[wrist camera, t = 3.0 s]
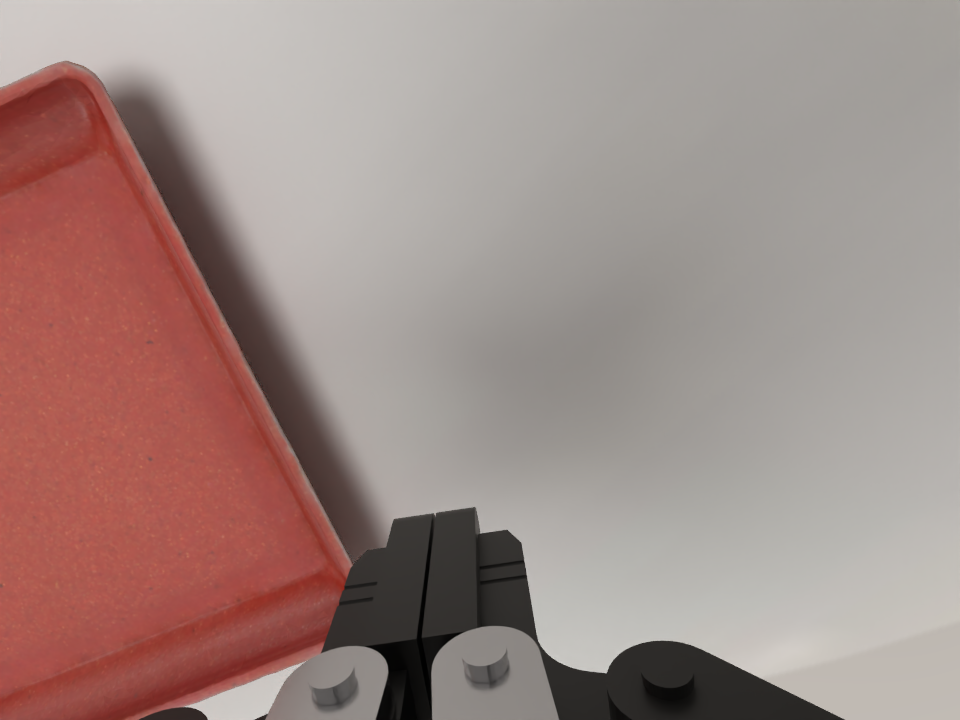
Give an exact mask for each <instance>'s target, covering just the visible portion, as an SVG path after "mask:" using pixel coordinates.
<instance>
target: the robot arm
mask: <svg viewBox="0 0 960 720" xmlns="http://www.w3.org/2000/svg"><path fill="white" fill-rule="evenodd" d="M139 720H208V719H207V717H206V716H205V715H204V714H203V713H202V712H201V711H199V710H197V709H193V708H188V707H178V708H170V709H166V710H161V711H158V712H155V713H152V714H150V715H148V716H145V717H143V718H141V719H139ZM255 720H844V719H842V718H840V717H838V716H836V715H834V714H832V713H830V712H828V711H826V710H824V709H822V708H820V707H818V706H815V705H814V704H812V703H810V702H807V701H805V700H803V699H801V698H799V697H797V696H795V695H793V694H791V693H789V692H787V691H785V690H783V689H781V688H779V687H777V686H775V685H773V684H771V683H769V682H767V681H765V680H763V679H761V678H758V677H756V676H754V675H752V674H750V673H748V672H746V671H744V670H742V669H740V668H738V667H736V666H734V665H732V664H730V663H728V662H726V661H724V660H722V659H720V658H718V657H716V656H714V655H712V654H710V653H707V652H705V651H703V650H701V649H699V648H696V647H694V646H691V645H688V644H684V643H679V642H674V641H651V642H646V643H641V644H638V645H635V646H633V647H631V648H629V649H626V650H625V651H623V652H622V653H621V654H619V655H618V656H617V657H616V658H615V659H614V660H613V662H612V663H611V665H610V666H609V669H608V672H607V674H606V673H597V672H588V671H582V670H577V669H574V668H570V667H568V666H565V665H563V664H561V663H559V662H557V661H556V660H554V659H553V658H551V657H550V656H549V655H548V654H547V653H546V652H545V651H544V650H543V649H542V647H541V646H540V644H539V642H538V639H537V635H536V629H535V623H534V617H533V611H532V605H531V599H530V593H529V587H528V581H527V575H526V568H525V563H524V556H523V550H522V544H521V542H520V541H519V540H518V539H517V538H515V537H514V536H513V535H512V534H511V533H510V532H509V531H508V530H503V531H496V532H489V533H482V534H480V528H479V522H478V516H477V511H476V508H475V507H473V508H466V509H459V510H452V511H445V512H439V513H436V517H435V515H434V513H433V514H426V515H419V516H412V517H405V518H398V519H394V520H393V524H392V527H391V531H390V535H389V539H388V543H387V547H386V548H380V549H373V550H367V551H366V552H365V553H364V554H363V556H362V557H361V558H360V559H359V560H358V561H357V562H356V563H355V564H354V565H353V566H352V567H351V568H350V571H349V574H348V577H347V580H346V582H345V585H344V590H343V591H342V594H341V597H340V600H339V606H337V608H336V611H335V614H334V617H333V620H332V623H331V626H330V628H329V631H328V634H327V637H326V640H325V643H324V646H323V649H322V651H321V654H319V655H317V656H315V657H313V658H311V659H310V660H308V661H306V662H305V663H303V664H302V665H301V666H300V667H298V668H297V669H296V670H295V671H294V672H293V673H292V674H291V675H290V676H289V677H288V678H287V680H286V681H285V682H284V684H283V686H282V687H281V689H280V691H279V693H278V695H277V697H276V699H275V701H274V703H273V705H272V707H271V709H270V711H269V713H268V714H266V715H264V716H262V717H260V718H257V719H255Z"/></svg>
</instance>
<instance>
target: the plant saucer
mask: <svg viewBox="0 0 960 720" xmlns="http://www.w3.org/2000/svg"><path fill="white" fill-rule="evenodd" d="M352 566H353V563H352V561H351V559H350V557H349V555H348V554H347V552H346V550H345V548H344V546H343V544H342V542H341V540H340V538H339V537H338V535H337V533H336V531H335V529H334V527H333V525H332V523H331V521H330V519H329V517H328V516H327V514H326V512H325V510H324V508H323V506H322V504H321V502H320V500H319V498H318V496H317V494H316V493H315V491H314V489H313V487H312V485H311V483H310V481H309V479H308V477H307V475H306V473H305V472H304V470H303V468H302V466H301V464H300V462H299V460H298V458H297V456H296V454H295V452H294V450H293V448H292V447H291V445H290V443H289V441H288V439H287V437H286V435H285V434H284V432H283V430H282V428H281V426H280V424H279V422H278V420H277V418H276V416H275V414H274V412H273V411H272V409H271V407H270V405H269V403H268V401H267V399H266V397H265V395H264V393H263V391H262V389H261V387H260V385H259V383H258V381H257V380H256V378H255V376H254V374H253V372H252V370H251V368H250V366H249V364H248V362H247V360H246V358H245V356H244V355H243V352H242V350H241V348H240V346H239V344H238V342H237V340H236V338H235V337H234V335H233V333H232V331H231V329H230V327H229V325H228V323H227V321H226V319H225V317H224V315H223V313H222V312H221V310H220V308H219V306H218V304H217V302H216V300H215V298H214V296H213V295H212V293H211V291H210V289H209V287H208V285H207V283H206V281H205V279H204V277H203V275H202V273H201V271H200V269H199V267H198V265H197V264H196V262H195V260H194V258H193V256H192V254H191V252H190V250H189V248H188V246H187V244H186V242H185V240H184V238H183V236H182V234H181V232H180V230H179V229H178V227H177V225H176V223H175V221H174V219H173V217H172V216H171V214H170V212H169V210H168V208H167V206H166V204H165V202H164V200H163V198H162V196H161V194H160V192H159V190H158V188H157V186H156V184H155V182H154V180H153V179H152V177H151V175H150V173H149V171H148V169H147V167H146V165H145V163H144V161H143V159H142V157H141V155H140V153H139V151H138V149H137V148H136V146H135V144H134V142H133V140H132V138H131V136H130V134H129V132H128V130H127V128H126V126H125V125H124V123H123V121H122V119H121V117H120V115H119V113H118V111H117V109H116V107H115V105H114V103H113V102H112V100H111V98H110V96H109V95H108V93H107V91H106V89H105V87H104V85H103V83H102V82H101V81H100V79H99V78H98V77H97V76H96V75H95V74H94V73H93V72H92V71H90V70H89V69H87V68H86V67H84V66H81V65H78V64H75V63H72V62H69V61H63V62H59V63H56V64H53V65H50V66H47V67H45V68H43V69H41V70H39V71H37V72H35V73H33V74H30V75H28V76H26V77H24V78H22V79H20V80H18V81H15V82H13V83H11V84H9V85H7V86H4V87H1V88H0V720H139V719H141V718H143V717H145V716H148V715H150V714H152V713H155V712H158V711H161V710H166V709H170V708H178V707H185V706H187V705H190V704H194V703H197V702H200V701H202V700H205V699H207V698H210V697H212V696H214V695H217V694H219V693H222V692H224V691H227V690H230V689H233V688H235V687H238V686H241V685H244V684H247V683H249V682H252V681H254V680H257V679H259V678H261V677H263V676H266V675H269V674H272V673H276V672H278V671H281V670H283V669H286V668H288V667H291V666H293V665H296V664H299V663H302V662H305V661H308V660H310V659H311V658H313V657H315V656H317V655H319V654H321V651H322V649H323V646H324V643H325V640H326V637H327V634H328V631H329V628H330V626H331V623H332V620H333V617H334V614H335V611H336V608H337V606H339V600H340V597H341V594H342V591H343V590H344V585H345V582H346V580H347V577H348V574H349V571H350V568H351V567H352Z"/></svg>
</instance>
